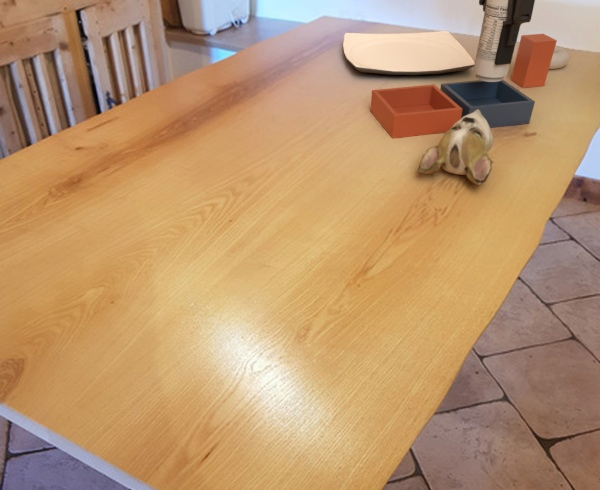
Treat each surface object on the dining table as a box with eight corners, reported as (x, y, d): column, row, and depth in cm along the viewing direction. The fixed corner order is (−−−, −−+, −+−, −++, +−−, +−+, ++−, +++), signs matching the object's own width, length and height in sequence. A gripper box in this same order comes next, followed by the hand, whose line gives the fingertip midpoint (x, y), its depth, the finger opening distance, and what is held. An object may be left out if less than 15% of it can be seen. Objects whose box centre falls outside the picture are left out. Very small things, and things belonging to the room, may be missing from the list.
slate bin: (529, 123, 101) (535, 101, 98) (465, 130, 99) (470, 108, 96) (496, 98, 110) (501, 78, 108) (437, 104, 108) (441, 83, 106)
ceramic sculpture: (514, 104, 85) (492, 148, 75) (503, 155, 91) (480, 201, 81) (447, 94, 89) (417, 135, 79) (440, 143, 95) (412, 187, 85)
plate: (350, 82, 118) (350, 69, 117) (338, 42, 140) (338, 31, 138) (481, 79, 119) (483, 66, 117) (449, 40, 140) (451, 29, 139)
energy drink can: (513, 79, 99) (536, -15, 90) (489, 85, 97) (509, -10, 87) (489, 69, 103) (508, -21, 94) (465, 75, 101) (482, -17, 91)
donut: (512, 63, 127) (550, 74, 121) (515, 47, 125) (554, 57, 118) (539, 55, 131) (576, 65, 125) (542, 39, 129) (581, 49, 123)
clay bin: (458, 131, 99) (462, 108, 96) (392, 138, 97) (394, 115, 94) (431, 105, 108) (434, 84, 105) (370, 111, 106) (371, 89, 104)
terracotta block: (544, 85, 115) (557, 40, 110) (522, 87, 115) (534, 42, 109) (531, 77, 119) (543, 33, 113) (510, 79, 118) (521, 35, 113)
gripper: (476, -107, 89) (451, 43, 104) (538, -95, 75) (499, 77, 90) (518, -109, 90) (487, 40, 106) (587, -97, 76) (541, 73, 92)
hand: (493, 57), depth 98 cm, fingers closed on energy drink can, 6 cm apart
